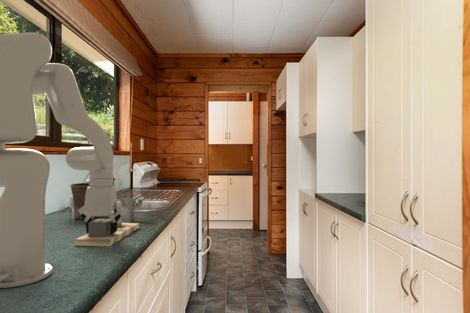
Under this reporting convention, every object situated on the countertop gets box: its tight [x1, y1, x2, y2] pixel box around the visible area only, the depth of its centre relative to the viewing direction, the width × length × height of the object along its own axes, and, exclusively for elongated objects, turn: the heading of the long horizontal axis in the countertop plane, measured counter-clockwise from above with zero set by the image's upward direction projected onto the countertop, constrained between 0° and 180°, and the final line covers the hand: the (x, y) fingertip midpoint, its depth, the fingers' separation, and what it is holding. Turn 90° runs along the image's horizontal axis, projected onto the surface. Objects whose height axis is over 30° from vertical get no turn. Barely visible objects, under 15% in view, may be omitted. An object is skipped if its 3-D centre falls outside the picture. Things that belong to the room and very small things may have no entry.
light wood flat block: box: [74, 217, 140, 247], centre depth 108 cm, size 24×12×6 cm, turn 175°
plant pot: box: [69, 182, 99, 220], centre depth 141 cm, size 16×16×16 cm
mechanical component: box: [120, 197, 143, 222], centre depth 133 cm, size 3×10×10 cm, turn 78°
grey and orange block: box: [89, 218, 112, 237], centre depth 102 cm, size 6×6×5 cm
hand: (101, 232), depth 102 cm, fingers open, 8 cm apart
